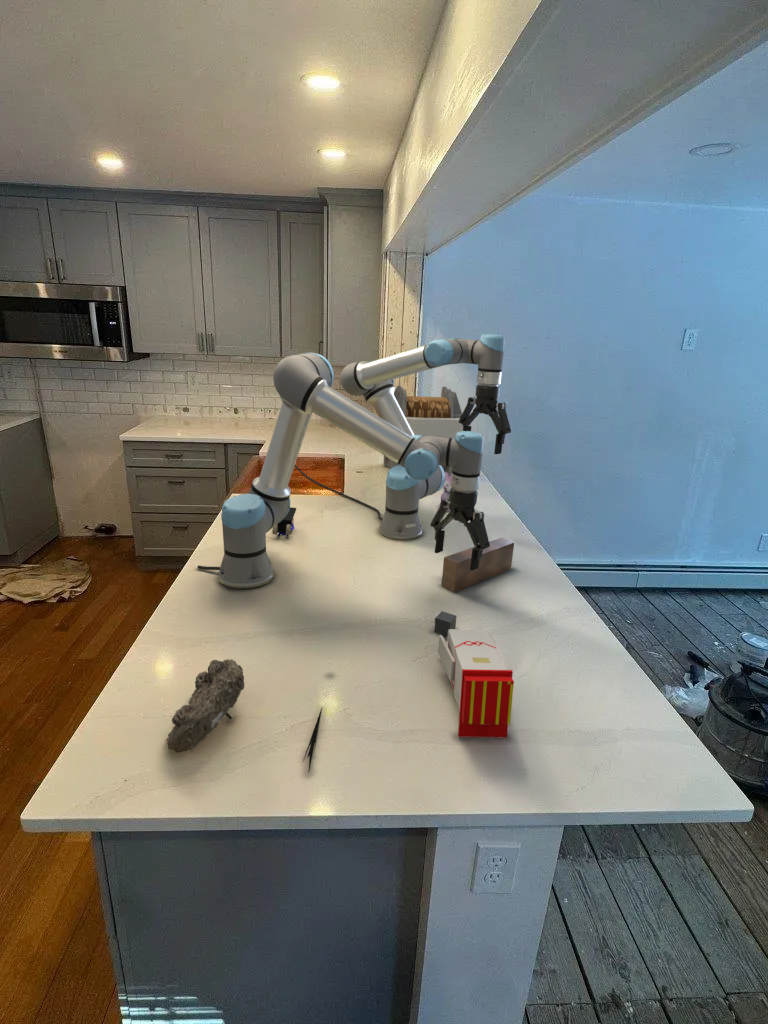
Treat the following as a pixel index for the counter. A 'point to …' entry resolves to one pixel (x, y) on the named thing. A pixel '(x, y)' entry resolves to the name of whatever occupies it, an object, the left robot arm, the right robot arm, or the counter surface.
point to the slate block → (444, 623)
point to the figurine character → (285, 524)
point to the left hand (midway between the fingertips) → (455, 560)
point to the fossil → (206, 705)
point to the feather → (313, 740)
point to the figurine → (446, 487)
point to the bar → (489, 565)
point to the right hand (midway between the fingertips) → (481, 449)
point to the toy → (478, 682)
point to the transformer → (430, 416)
